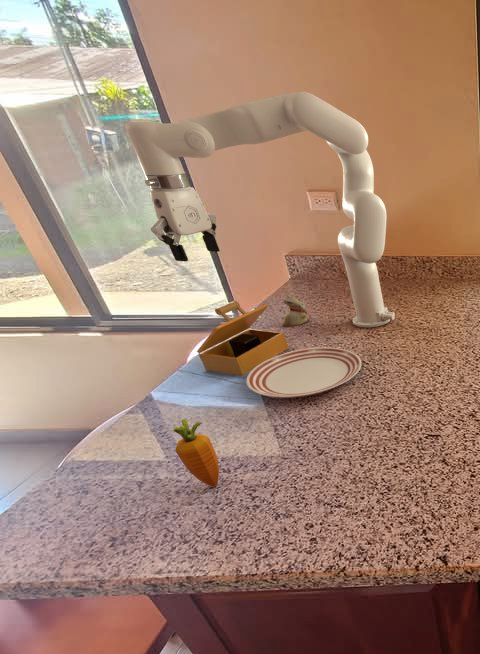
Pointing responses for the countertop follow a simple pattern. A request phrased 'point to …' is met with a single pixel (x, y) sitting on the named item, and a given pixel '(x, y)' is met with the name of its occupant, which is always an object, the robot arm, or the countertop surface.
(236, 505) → the countertop surface
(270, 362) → the dinner plate
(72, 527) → the countertop surface
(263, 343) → the box
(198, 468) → the carrot
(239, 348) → the black block
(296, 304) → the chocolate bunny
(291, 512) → the countertop surface
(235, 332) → the hinged box lid
